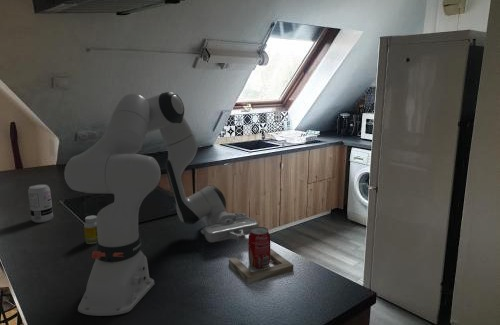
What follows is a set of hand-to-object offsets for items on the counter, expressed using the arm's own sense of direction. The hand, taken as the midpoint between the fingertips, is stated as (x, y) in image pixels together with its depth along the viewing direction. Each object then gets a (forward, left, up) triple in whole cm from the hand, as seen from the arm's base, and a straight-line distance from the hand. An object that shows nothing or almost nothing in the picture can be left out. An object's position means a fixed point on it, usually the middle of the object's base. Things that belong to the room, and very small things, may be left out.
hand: (241, 237), depth 129 cm
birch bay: (-12, -7, -5) cm, 14 cm away
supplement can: (+30, +88, -5) cm, 93 cm away
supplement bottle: (+7, +56, -5) cm, 57 cm away
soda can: (-10, -6, -5) cm, 13 cm away
